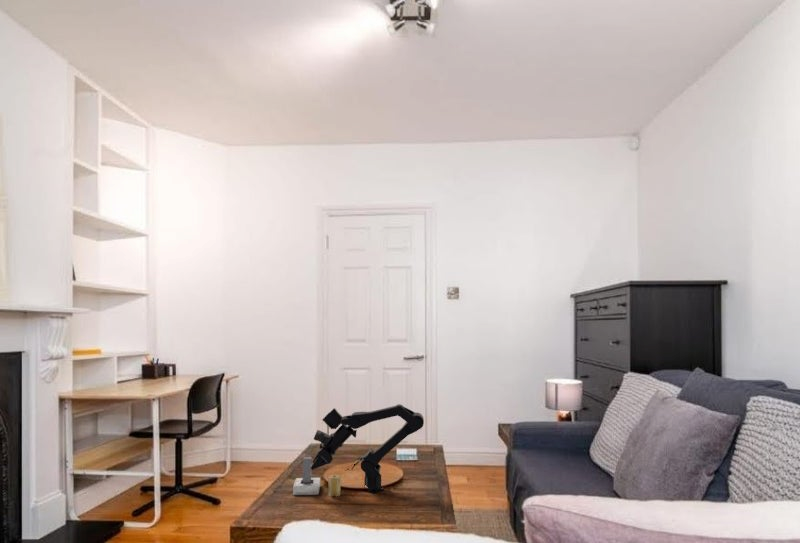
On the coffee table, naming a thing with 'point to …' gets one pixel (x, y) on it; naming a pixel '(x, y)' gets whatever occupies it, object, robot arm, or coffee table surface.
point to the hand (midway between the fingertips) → (312, 465)
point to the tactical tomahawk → (358, 459)
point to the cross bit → (334, 485)
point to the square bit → (307, 470)
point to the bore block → (306, 487)
